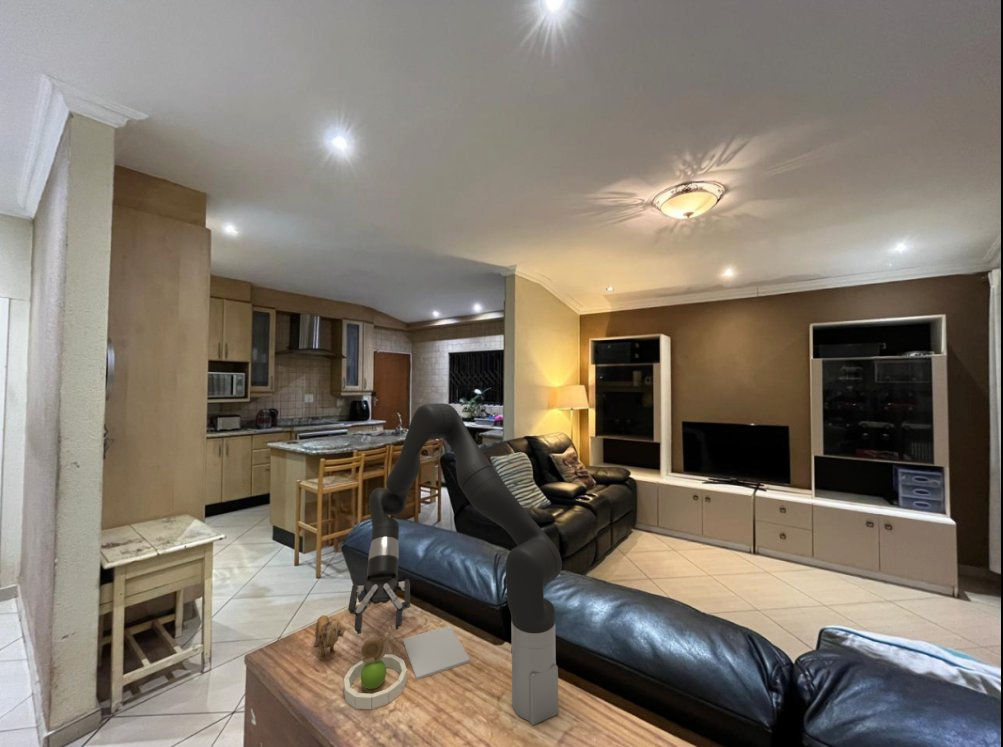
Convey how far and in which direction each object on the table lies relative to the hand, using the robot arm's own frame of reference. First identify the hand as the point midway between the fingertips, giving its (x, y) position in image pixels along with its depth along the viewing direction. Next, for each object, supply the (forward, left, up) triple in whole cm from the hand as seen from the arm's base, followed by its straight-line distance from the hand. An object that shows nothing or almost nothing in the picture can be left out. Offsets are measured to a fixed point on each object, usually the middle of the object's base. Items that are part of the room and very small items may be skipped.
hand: (378, 630), depth 92 cm
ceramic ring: (-4, +1, -10) cm, 10 cm away
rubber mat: (+1, -14, -10) cm, 17 cm away
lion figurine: (+15, +10, -10) cm, 20 cm away
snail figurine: (-4, +1, -10) cm, 11 cm away
